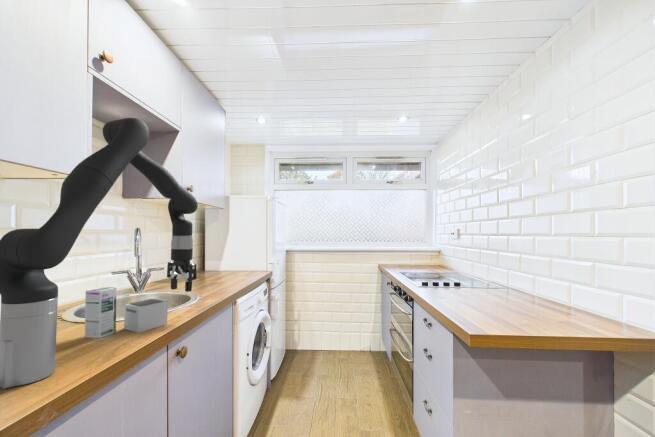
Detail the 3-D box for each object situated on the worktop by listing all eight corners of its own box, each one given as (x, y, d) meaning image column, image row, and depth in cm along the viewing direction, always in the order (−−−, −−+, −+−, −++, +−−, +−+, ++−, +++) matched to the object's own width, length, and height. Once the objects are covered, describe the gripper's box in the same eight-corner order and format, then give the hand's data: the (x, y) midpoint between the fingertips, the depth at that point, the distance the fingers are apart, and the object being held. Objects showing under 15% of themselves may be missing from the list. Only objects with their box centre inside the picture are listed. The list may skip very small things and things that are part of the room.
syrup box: (99, 338, 92) (101, 290, 93) (83, 337, 93) (85, 289, 94) (116, 332, 98) (117, 287, 98) (100, 331, 99) (102, 286, 100)
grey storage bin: (137, 332, 98) (137, 306, 98) (123, 328, 102) (124, 303, 102) (167, 324, 107) (168, 300, 107) (154, 320, 111) (154, 297, 111)
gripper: (161, 247, 117) (160, 290, 116) (185, 248, 110) (184, 294, 109) (179, 246, 123) (178, 287, 123) (202, 247, 116) (202, 290, 116)
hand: (181, 290), depth 116 cm, fingers open, 8 cm apart
